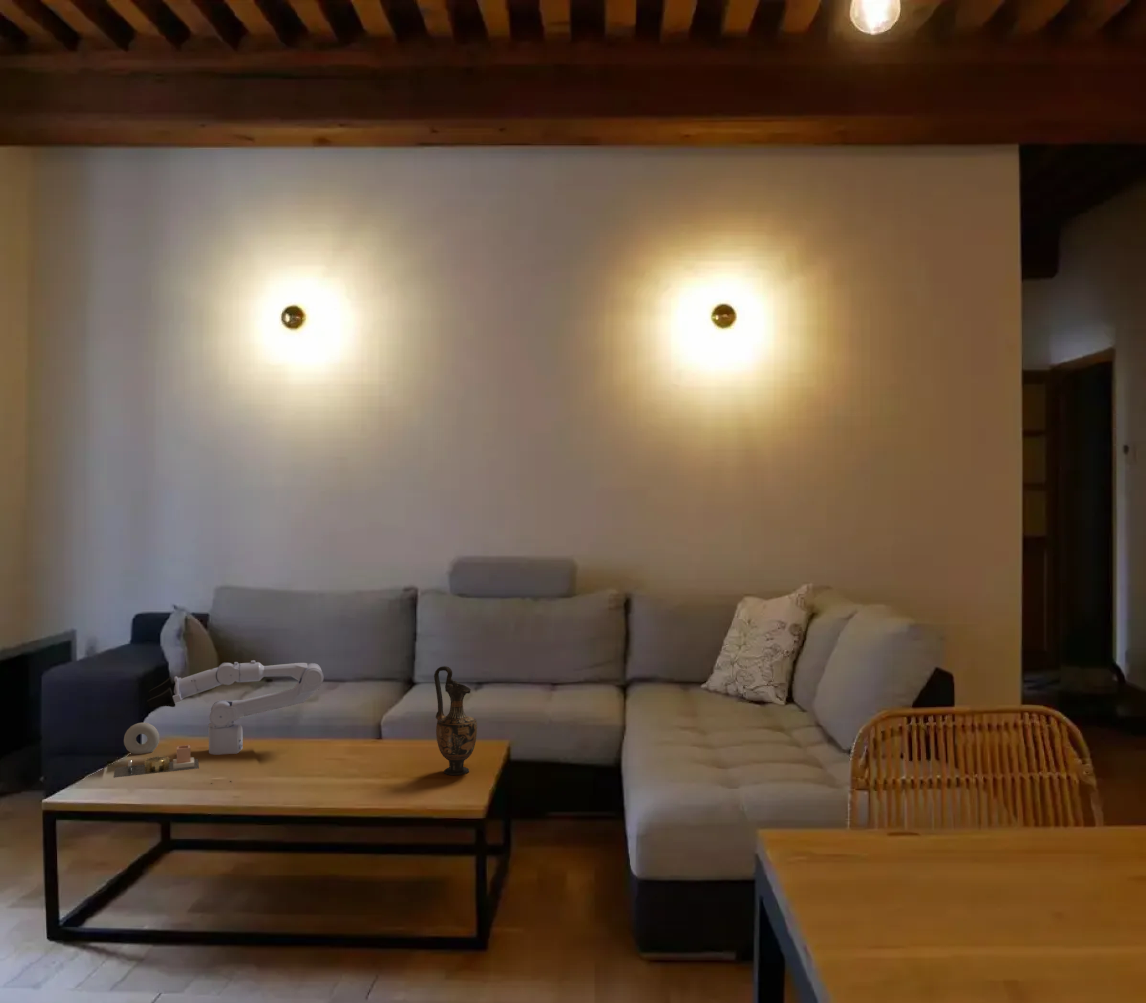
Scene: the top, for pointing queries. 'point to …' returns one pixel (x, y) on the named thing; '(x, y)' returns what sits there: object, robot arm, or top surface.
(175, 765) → the square sleeve on tile
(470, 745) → the vase
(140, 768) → the carrier plate
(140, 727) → the donut
